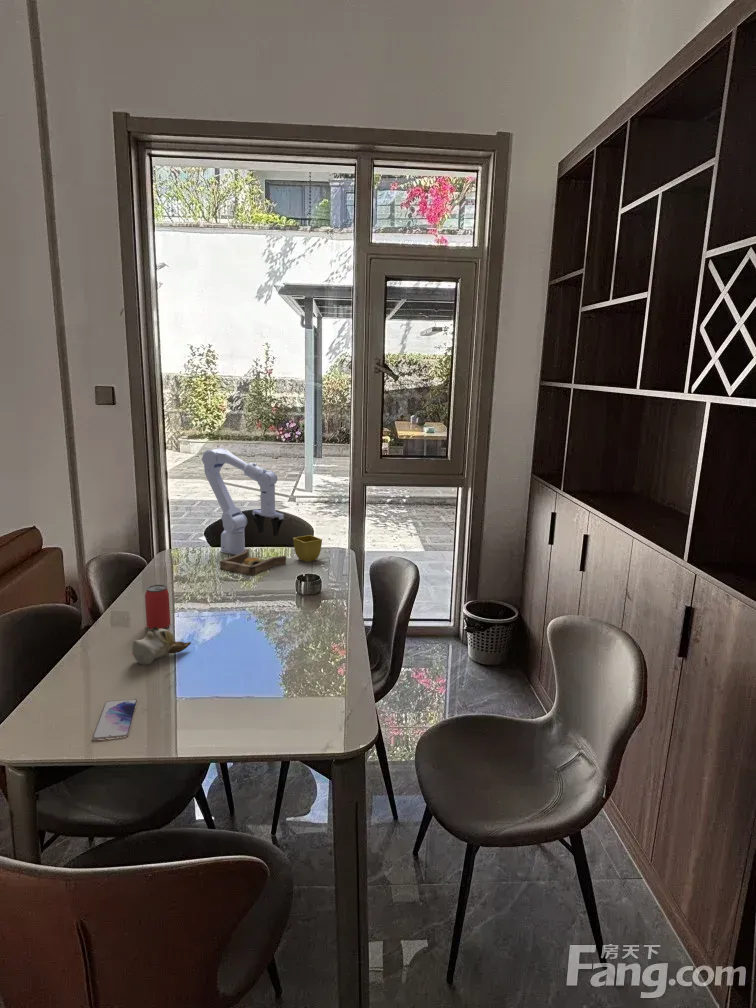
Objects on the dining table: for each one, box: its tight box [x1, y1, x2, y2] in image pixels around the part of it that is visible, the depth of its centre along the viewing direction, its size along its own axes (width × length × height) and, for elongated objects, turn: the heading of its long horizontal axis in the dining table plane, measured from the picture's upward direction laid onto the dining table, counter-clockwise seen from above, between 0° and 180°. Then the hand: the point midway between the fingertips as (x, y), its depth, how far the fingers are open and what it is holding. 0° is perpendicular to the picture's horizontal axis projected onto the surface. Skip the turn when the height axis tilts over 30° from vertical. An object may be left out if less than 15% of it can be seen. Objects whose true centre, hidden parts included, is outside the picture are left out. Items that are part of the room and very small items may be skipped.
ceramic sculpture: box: [132, 627, 192, 666], centre depth 160 cm, size 11×9×15 cm
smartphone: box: [91, 698, 138, 741], centre depth 131 cm, size 7×1×15 cm
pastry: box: [243, 557, 262, 566], centre depth 236 cm, size 9×7×4 cm
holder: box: [219, 548, 287, 576], centre depth 237 cm, size 20×18×3 cm
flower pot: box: [292, 534, 323, 563], centre depth 245 cm, size 9×9×9 cm
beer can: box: [144, 584, 171, 630], centre depth 178 cm, size 7×7×12 cm
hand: (268, 534), depth 248 cm, fingers open, 7 cm apart
